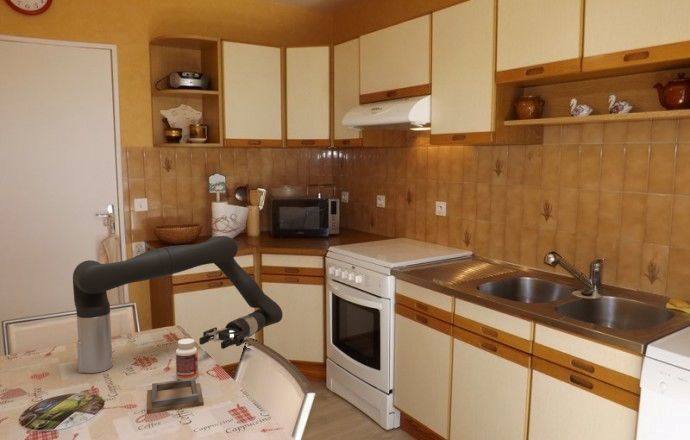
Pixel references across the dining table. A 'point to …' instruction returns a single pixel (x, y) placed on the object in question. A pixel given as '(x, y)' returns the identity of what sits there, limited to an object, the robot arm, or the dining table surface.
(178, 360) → the pill bottle
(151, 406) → the grey shallow rectangular tray
